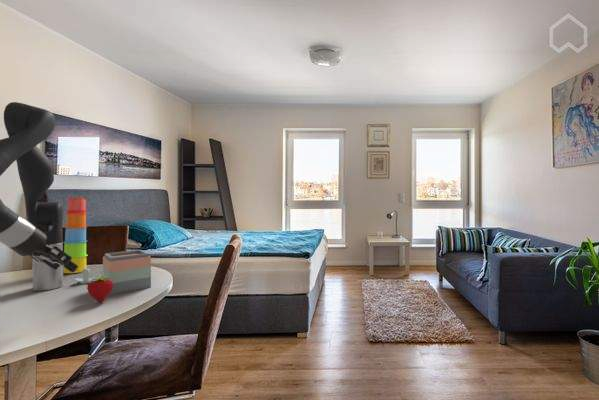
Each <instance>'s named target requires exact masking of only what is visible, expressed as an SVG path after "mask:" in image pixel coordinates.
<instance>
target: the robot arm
mask: <svg viewBox="0 0 599 400" xmlns="http://www.w3.org/2000/svg"><path fill="white" fill-rule="evenodd" d="M3 123H4V127H5V130H6V134H7V135H8V137H5V138H2V139H0V177H1V176H2V175H3V174H4V173H5V172H6V171H7V170H8V168H10V166H11V165H13V163H15V162H16V167H17V172H18V177H19V179H20V180H19V181H20V184H21V188H22V191H23V196H24V203H25V213H26V219H25V218H23V217H22V216H20V215H18V214H17V212H14V211H13V210H12V209H11V208H10V207H9V206H7V205H5V204H4V202H3V200H2V199H1V198H0V243H2V244H3V245H4V246H6V247H7V248H9V249H11V250H12V251H13V252H15V253H17V254H18V255H19V256H21V257H26V256H28V257H30V258H31V259H32V265H31V266H32V292H35V291H36V292H37V291H49V290H53V289H54V290H55V289H58V288H61V287H63V286H64V273H63V267H65V268H66V269H67V270H69V271H70V272H75V270H76V269H77V268H78V266H77V265H76V264H75V263H73V262H72V261H70V260H71V259H72V258H71V257H70V256H69V255H67V254H66V253H65V252H64V250H63V249H64V247H63V246H64V245H63V244H64V240H63V238H64V237H63V224H64V223H63V220H64V207H63V204H62V203H61V202H59V201H50V202H49V201H41V202H40V201H39V199H40V198H41V197H42V195H43V194H45V193H46V191H48V190H49V189H50V187H51V186H52V185H53V183H54V182H55V181H54V180H55V177H54V167H53V164H52V161H51V160H50V159H49V158H48V156H47V155H46V154H45V153H44V152H43V151H42V149H40V148H39V146H38V145H39V144H41V143H42V142H43V141H45V140H46V139H48V138H49V137H50V135H51V134H52V133H53V131H54V130H55V125H56V119H55V116H54V114H53V113H52V112H51V111H49V110H47V109H45V108H41V107H37V106H33V105H30V104H27V103H23V102H17V101H13V102H9V103H8V104H6V106H5V107H4V111H3ZM38 201H39V202H38ZM47 226H48V227H51V229H49V230H48V231H45V232H43V231H42V230H40V229H39V228H37V227H47Z"/></svg>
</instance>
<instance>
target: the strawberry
mask: <svg viewBox="0 0 599 400" xmlns="http://www.w3.org/2000/svg"><path fill="white" fill-rule="evenodd" d="M100 274H101V276H100V277H97V278H95V279H92V280H95V281H92V282H90V283H87V287H86V289H87V292H88V294H89V295H90V296H91V297H92V298H93V299H95V300H96V301H97V302H98V303H103V302H104V301H105V300H106V299H107V297H108V296H109V295H110V294H109V293H110V292H111V291H112V288H113V282H112V281H111V280H108V279H109V278H107V277H104V276H103V271H101V273H100Z"/></svg>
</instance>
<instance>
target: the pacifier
mask: <svg viewBox="0 0 599 400" xmlns="http://www.w3.org/2000/svg"><path fill="white" fill-rule="evenodd" d="M81 274H82V278H78V277H77V278H75V279H74V280H75V282H77V283H78V284H81V285H86V284H87V285H88V284H89V283H90V282H92V281H95V280H92V279H95V278H98V277H97V276H93V277H90V274H91V270H90V269H89V268H88V267H86V268H85V269H83V270H82V272H81Z"/></svg>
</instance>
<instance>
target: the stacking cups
mask: <svg viewBox="0 0 599 400" xmlns="http://www.w3.org/2000/svg"><path fill="white" fill-rule="evenodd" d="M66 210H67V212H66V219H65V221H66V223H65V226H64V228H65V235H64V240H63V244H64V245H63V246H64V247H63V249H64V250H63V252H65V253H66V254H67V255H69V256H70V257H71V258H72V259H71V260H70V261H72V262H73V263H75V264H76V265H77V266H78V268H77V269H76V270H75V272H70V271H69V270H67V269H66V268H65V267H63V274H78V273H82V270H83V269H85V268H87V257H88V256H89V255H88V254H87V242H88V240H87V228H88V226H87V214H88V213H87V212H86V211H87V200H86V198H84V197H83V198H82V197H79V198H78V197H69V198H68V199H67V209H66Z"/></svg>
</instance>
